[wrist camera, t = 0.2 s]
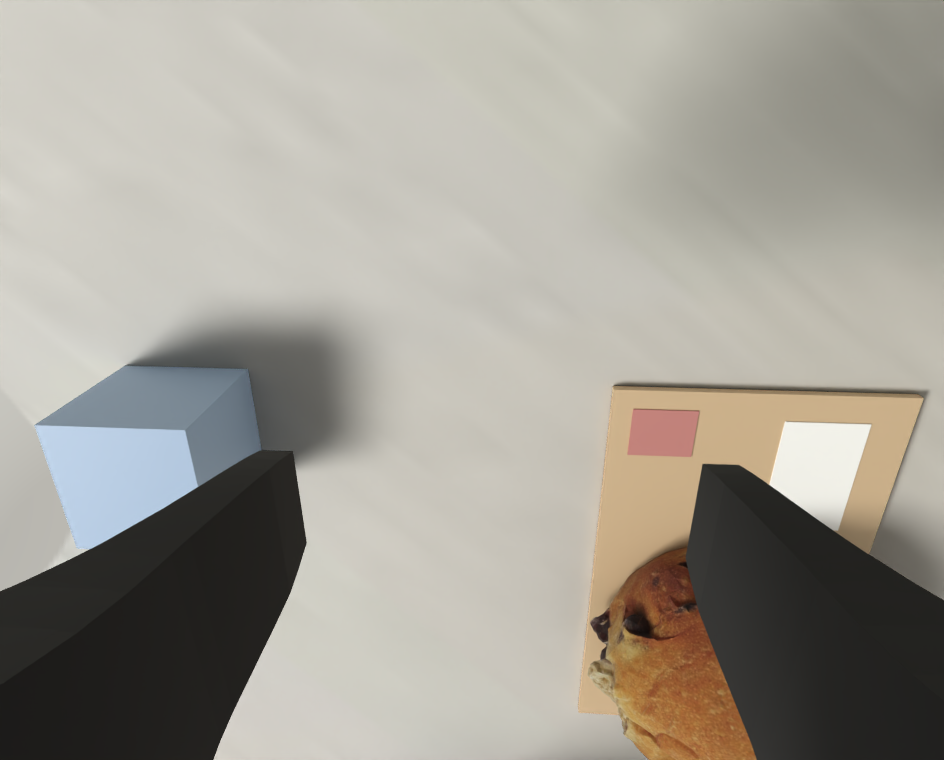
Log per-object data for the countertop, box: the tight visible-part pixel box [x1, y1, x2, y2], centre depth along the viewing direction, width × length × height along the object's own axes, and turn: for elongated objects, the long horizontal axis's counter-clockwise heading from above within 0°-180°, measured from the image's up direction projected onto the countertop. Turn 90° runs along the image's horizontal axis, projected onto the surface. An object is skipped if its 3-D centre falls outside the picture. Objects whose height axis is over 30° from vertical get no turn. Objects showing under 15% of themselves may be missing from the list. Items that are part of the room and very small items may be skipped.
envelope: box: [578, 386, 924, 715], centre depth 23 cm, size 16×10×1 cm, turn 0°
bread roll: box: [588, 547, 757, 760], centre depth 22 cm, size 10×10×8 cm
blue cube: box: [34, 366, 262, 549], centre depth 20 cm, size 4×4×4 cm
